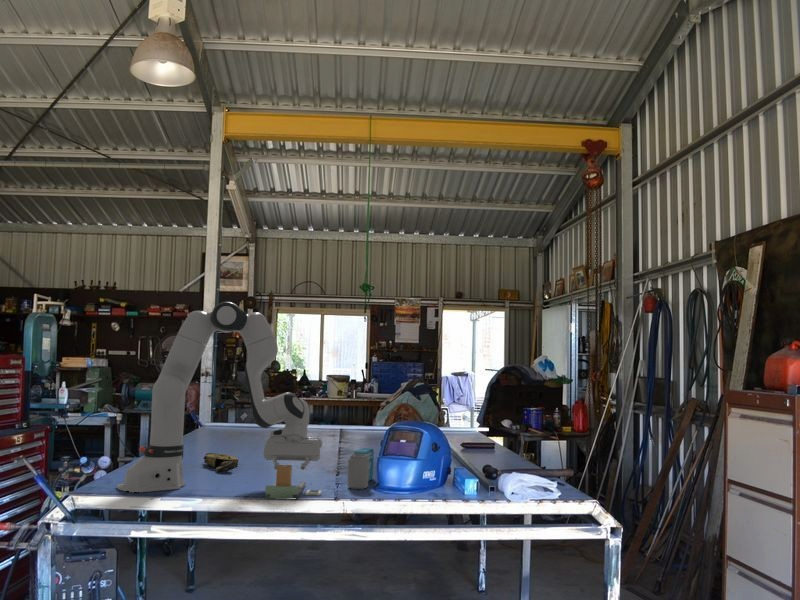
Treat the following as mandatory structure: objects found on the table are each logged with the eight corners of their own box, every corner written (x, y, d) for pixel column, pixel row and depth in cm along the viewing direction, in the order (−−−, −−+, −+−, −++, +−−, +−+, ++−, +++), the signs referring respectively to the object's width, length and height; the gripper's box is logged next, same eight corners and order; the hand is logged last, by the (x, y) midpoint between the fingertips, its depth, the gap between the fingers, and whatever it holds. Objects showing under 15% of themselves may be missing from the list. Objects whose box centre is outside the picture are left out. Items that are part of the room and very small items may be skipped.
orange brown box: (277, 494, 225) (278, 464, 226) (290, 495, 225) (292, 464, 226) (275, 497, 221) (277, 466, 222) (289, 497, 221) (290, 466, 222)
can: (370, 487, 244) (371, 454, 245) (364, 490, 237) (365, 456, 238) (351, 485, 246) (352, 452, 247) (344, 489, 239) (345, 455, 240)
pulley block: (208, 457, 261) (204, 448, 289) (205, 472, 260) (201, 461, 289) (244, 462, 266) (236, 452, 294) (241, 477, 265) (234, 466, 293)
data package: (364, 484, 250) (365, 451, 251) (352, 483, 251) (353, 451, 252) (372, 479, 261) (373, 448, 263) (361, 478, 263) (363, 447, 264)
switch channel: (276, 485, 242) (277, 473, 243) (323, 486, 243) (324, 475, 243) (265, 498, 218) (265, 486, 218) (317, 499, 219) (318, 487, 219)
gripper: (323, 443, 248) (319, 474, 237) (268, 442, 247) (262, 473, 237) (322, 432, 244) (318, 463, 233) (266, 431, 243) (260, 462, 233)
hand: (289, 468), depth 235 cm, fingers open, 8 cm apart
